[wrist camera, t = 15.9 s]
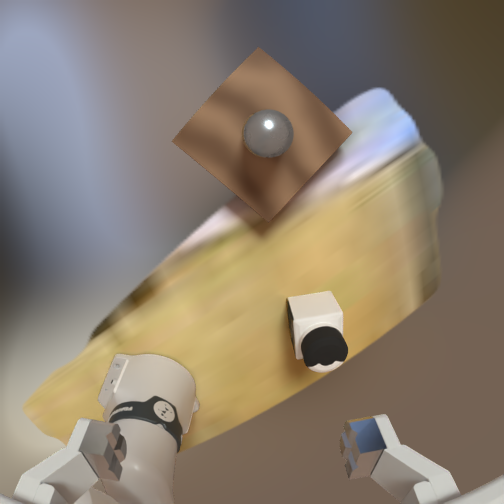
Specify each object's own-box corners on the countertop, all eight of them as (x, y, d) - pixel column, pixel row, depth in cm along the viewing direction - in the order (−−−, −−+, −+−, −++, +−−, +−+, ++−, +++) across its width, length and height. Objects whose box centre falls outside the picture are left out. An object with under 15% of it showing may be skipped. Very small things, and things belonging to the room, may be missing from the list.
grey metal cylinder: (277, 161, 39) (285, 166, 32) (235, 147, 38) (235, 150, 32) (291, 121, 37) (302, 118, 31) (249, 106, 37) (251, 100, 30)
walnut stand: (265, 215, 45) (268, 222, 42) (177, 140, 41) (171, 141, 38) (342, 132, 42) (352, 132, 38) (256, 54, 38) (258, 47, 34)
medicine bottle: (286, 296, 50) (299, 341, 39) (330, 289, 50) (354, 331, 39) (289, 334, 52) (301, 382, 41) (331, 327, 52) (352, 372, 41)
